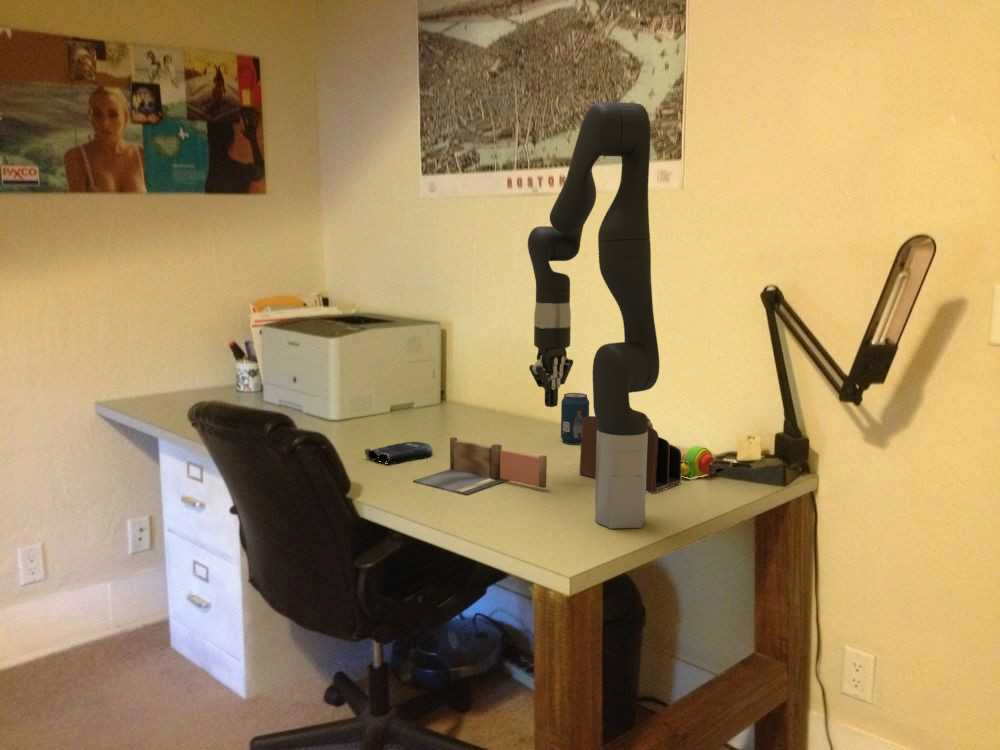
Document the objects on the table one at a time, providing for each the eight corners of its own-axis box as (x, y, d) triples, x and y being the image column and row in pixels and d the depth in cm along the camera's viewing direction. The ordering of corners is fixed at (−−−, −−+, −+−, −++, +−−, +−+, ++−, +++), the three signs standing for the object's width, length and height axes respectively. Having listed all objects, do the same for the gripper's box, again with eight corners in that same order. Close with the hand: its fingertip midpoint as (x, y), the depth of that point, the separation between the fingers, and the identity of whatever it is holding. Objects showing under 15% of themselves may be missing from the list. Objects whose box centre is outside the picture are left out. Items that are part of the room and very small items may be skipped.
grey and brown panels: (512, 479, 195) (513, 445, 194) (466, 495, 184) (466, 459, 183) (458, 466, 205) (458, 434, 204) (411, 481, 193) (411, 447, 192)
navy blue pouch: (391, 474, 205) (441, 453, 215) (386, 450, 204) (436, 431, 214) (367, 471, 212) (416, 451, 222) (362, 448, 211) (411, 429, 221)
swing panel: (499, 478, 193) (499, 448, 192) (504, 476, 195) (504, 447, 193) (543, 488, 186) (543, 457, 185) (547, 486, 187) (548, 456, 186)
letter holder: (653, 494, 186) (656, 427, 183) (578, 475, 199) (579, 412, 197) (681, 485, 193) (684, 419, 190) (606, 467, 206) (608, 405, 204)
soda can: (573, 437, 234) (574, 391, 232) (594, 441, 229) (595, 394, 227) (555, 441, 229) (555, 394, 227) (576, 446, 224) (577, 398, 222)
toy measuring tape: (668, 477, 198) (669, 448, 197) (722, 462, 210) (723, 435, 209) (691, 484, 193) (693, 454, 192) (745, 468, 205) (747, 440, 204)
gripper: (556, 320, 196) (554, 399, 199) (518, 325, 186) (517, 408, 189) (585, 322, 191) (583, 403, 194) (548, 328, 181) (547, 413, 184)
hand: (551, 406), depth 191 cm, fingers closed
